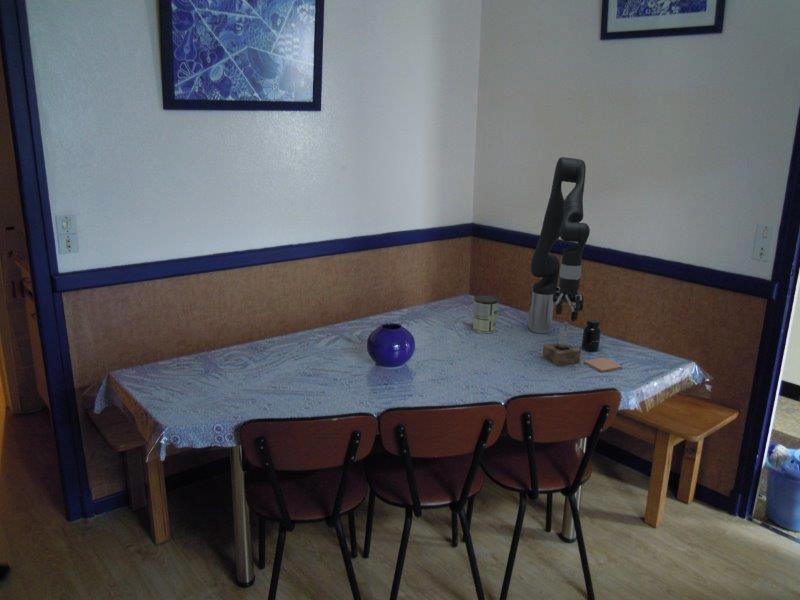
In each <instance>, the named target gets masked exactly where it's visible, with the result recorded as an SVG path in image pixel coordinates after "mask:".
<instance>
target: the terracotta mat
mask: <svg viewBox="0 0 800 600" xmlns="http://www.w3.org/2000/svg"><path fill="white" fill-rule="evenodd" d="M583 364H584V365H586V366H588V367H590V368H591V369H594V370H595V371H598V372H599V373H601V374H602V373H603V374H604V373H608V372H612V371H618V370H622V369H623V366H622V365H620V364H618V363H617V362H614V361H612V360H611V359H609V358H606V357H604V356H603V357H598V358H592V359H591V358H590V359H586V360H583Z"/></svg>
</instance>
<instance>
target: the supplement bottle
mask: <svg viewBox="0 0 800 600" xmlns="http://www.w3.org/2000/svg"><path fill="white" fill-rule="evenodd" d="M586 321H587V322H586V325H585V326H584V327H583V332H582V340H581V349H582V350H584V351H586V352H594V353H595V352H598V351H599V349H600V343H601V334H602V329H601V327H600V323H601V322H600V320H599V319H595V318H588V319H587V320H586Z"/></svg>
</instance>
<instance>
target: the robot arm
mask: <svg viewBox="0 0 800 600" xmlns="http://www.w3.org/2000/svg"><path fill="white" fill-rule="evenodd" d="M586 172H587V169H586V163H585V161H584V160H583V159H580V158H573V157H565V156H561V157H559V158H558V159H557V161H556V164H555V169H554V174H553V180H552V184H551V189H550V190H551V192H550V196H549V199H548V204H547V206H546V210H545V214H544V217H543V218H544V219H543V221H542V226H541V230H540V231H541V232H540V235H539V236H538V237H539V238H538V242H537V245H536V247H535V250H534V252H533V256H532V259H531V262H530V272H531V275H532V276H534V278H540V280H539V281H537V282H535V283H534V284H533V286H532V293H531V306H530V307H529V312H528V322H527V323H528V325H527V329H529V331H530V332H532V333H535V334H536V333H537V334H549V333H551V331H552V323H553V314H554V303H555V305H556V306H555V314H556V315H562V313H563V303H566V304H568V306H569V307H570V308H571V315H570V321H572V322H576V321H577V320H578V315H579V312H583V310H584V295H583V294H578V291H579V290H580V286H581V276H582V261H583V260H582V259H583V254H584V253H583V252H584V248H585V246H586V244H587V241H588V239H589V236H590V232H591V229H590V227H589V225H588V224H587V223H586V222H582V221H583V219H584V205H583V204H584V202H583V201H584V192H585V182H586V180H585V179H586ZM563 182H564V183H572V184H573V183H574V184H575V186H574V187H573V188H572V189H571V191H570V192H568V194H567V195H566V196H565V198H564V195H563V191H562V185H563V184H562V183H563ZM559 239H561V240H562V241H563V242H572V243H576V244H575V245H573V246H567V247H566V248H564V249H563V250H562V257H561V265H560V260H559V258H558V256H557V255H555V254H549V253H550V251H551V249H552V247H553V246H554V244H555V243H556V242H557V241H558V240H559ZM558 281H559V282H558Z"/></svg>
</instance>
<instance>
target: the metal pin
mask: <svg viewBox="0 0 800 600" xmlns="http://www.w3.org/2000/svg"><path fill="white" fill-rule="evenodd" d="M569 328H570V324H569V322H567V321H562V322H560V324H559V334H558V342H557V343H558V349H559V350H561V351H562V350H566V348H567V344H568V336H569Z"/></svg>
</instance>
